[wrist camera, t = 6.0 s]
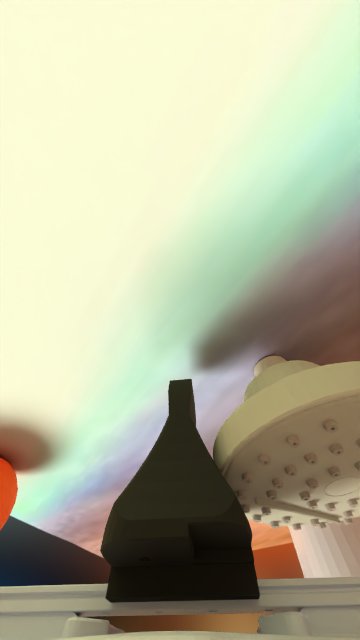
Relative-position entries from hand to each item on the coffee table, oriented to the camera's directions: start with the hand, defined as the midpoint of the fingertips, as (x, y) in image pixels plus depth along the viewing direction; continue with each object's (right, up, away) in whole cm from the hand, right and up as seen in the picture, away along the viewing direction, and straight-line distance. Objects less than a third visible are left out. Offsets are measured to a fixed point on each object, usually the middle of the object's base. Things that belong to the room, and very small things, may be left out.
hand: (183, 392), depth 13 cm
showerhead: (+6, +1, +1) cm, 6 cm away
